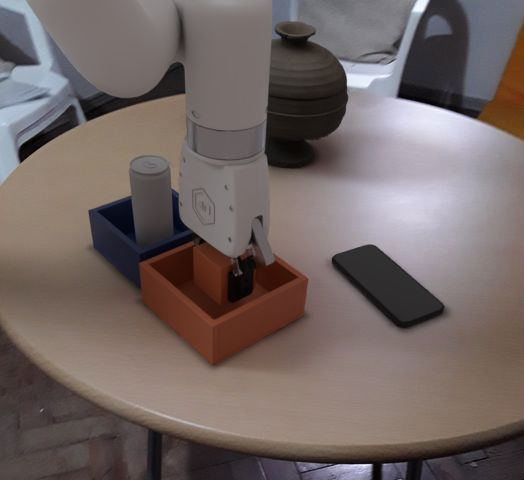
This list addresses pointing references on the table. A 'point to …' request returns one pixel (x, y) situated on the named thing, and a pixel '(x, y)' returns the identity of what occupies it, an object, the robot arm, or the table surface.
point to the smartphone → (388, 285)
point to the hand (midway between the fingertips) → (224, 283)
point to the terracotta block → (213, 271)
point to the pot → (301, 95)
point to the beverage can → (151, 199)
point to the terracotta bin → (213, 314)
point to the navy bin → (131, 236)
